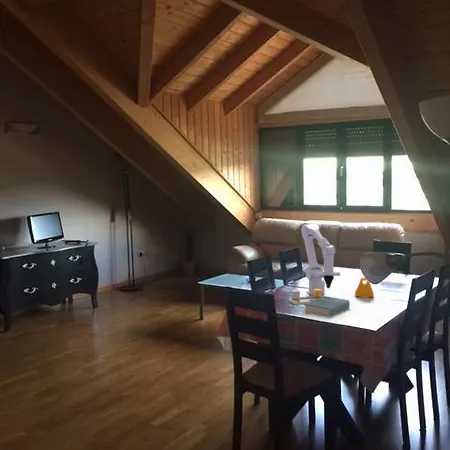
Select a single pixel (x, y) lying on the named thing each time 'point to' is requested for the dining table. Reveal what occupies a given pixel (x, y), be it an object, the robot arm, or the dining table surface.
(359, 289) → the bracket
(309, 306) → the book
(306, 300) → the pitch plate
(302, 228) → the robot arm
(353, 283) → the dining table surface
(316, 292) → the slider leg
